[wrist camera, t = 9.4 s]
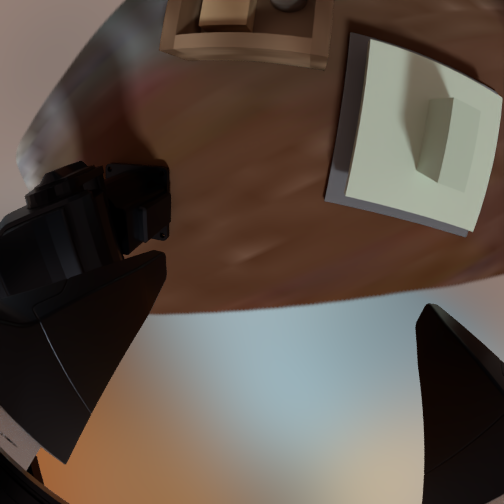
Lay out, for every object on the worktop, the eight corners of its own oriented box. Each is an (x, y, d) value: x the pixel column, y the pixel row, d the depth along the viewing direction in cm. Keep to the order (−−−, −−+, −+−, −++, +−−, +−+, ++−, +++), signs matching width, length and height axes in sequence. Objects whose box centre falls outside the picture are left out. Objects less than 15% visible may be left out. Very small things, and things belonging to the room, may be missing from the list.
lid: (341, 187, 19) (352, 213, 14) (364, 46, 14) (383, 22, 9) (460, 221, 18) (495, 253, 13) (487, 97, 13) (530, 99, 8)
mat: (324, 199, 20) (324, 200, 20) (350, 33, 14) (350, 32, 14) (464, 236, 18) (465, 237, 18) (495, 93, 12) (497, 93, 12)
